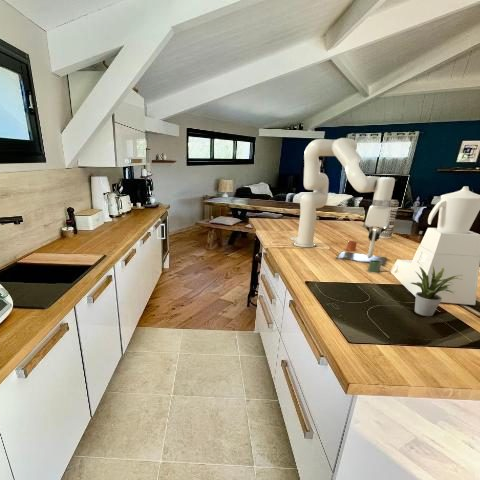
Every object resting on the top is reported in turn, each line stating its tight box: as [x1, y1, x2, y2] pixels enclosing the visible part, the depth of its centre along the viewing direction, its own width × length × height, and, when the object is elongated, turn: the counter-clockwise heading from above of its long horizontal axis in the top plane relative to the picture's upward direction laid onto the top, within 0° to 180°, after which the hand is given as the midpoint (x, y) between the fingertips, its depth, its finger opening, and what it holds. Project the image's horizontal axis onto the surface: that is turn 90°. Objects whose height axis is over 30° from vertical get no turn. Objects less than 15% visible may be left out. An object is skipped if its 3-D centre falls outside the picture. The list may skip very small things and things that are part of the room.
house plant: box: [410, 267, 463, 317], centre depth 102 cm, size 14×14×16 cm
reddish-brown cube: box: [346, 240, 358, 252], centre depth 184 cm, size 5×5×5 cm
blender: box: [389, 185, 480, 306], centre depth 121 cm, size 33×18×40 cm, turn 166°
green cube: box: [367, 260, 382, 273], centre depth 146 cm, size 5×5×5 cm
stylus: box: [367, 228, 378, 258], centre depth 161 cm, size 2×2×15 cm
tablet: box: [336, 251, 387, 266], centre depth 166 cm, size 22×16×1 cm
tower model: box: [379, 199, 400, 239], centre depth 213 cm, size 9×9×25 cm
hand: (373, 240), depth 161 cm, fingers closed on stylus, 2 cm apart
